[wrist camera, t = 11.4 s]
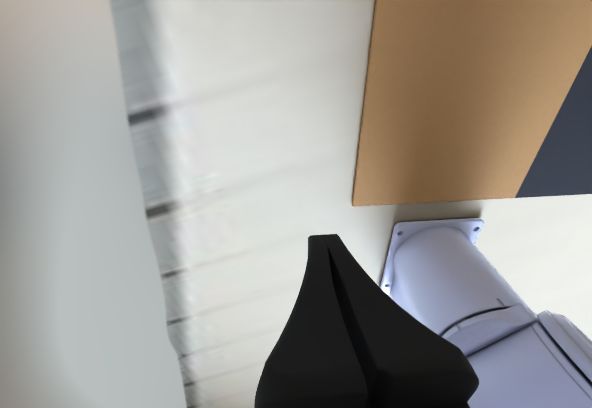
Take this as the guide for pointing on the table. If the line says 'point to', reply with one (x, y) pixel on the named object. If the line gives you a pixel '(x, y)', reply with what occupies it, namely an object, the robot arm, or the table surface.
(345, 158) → the table surface
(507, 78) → the desk mat
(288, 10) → the table surface
